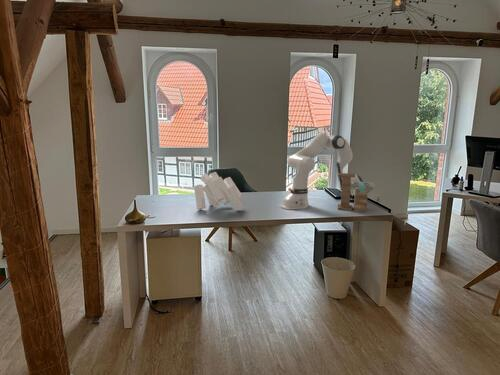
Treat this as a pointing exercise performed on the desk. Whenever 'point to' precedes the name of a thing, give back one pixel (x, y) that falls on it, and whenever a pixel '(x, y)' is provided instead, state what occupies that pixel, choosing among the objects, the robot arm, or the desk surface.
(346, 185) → the walnut shelf post
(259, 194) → the desk surface
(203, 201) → the pile of blocks
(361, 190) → the teal bar
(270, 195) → the desk surface
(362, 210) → the oak block
